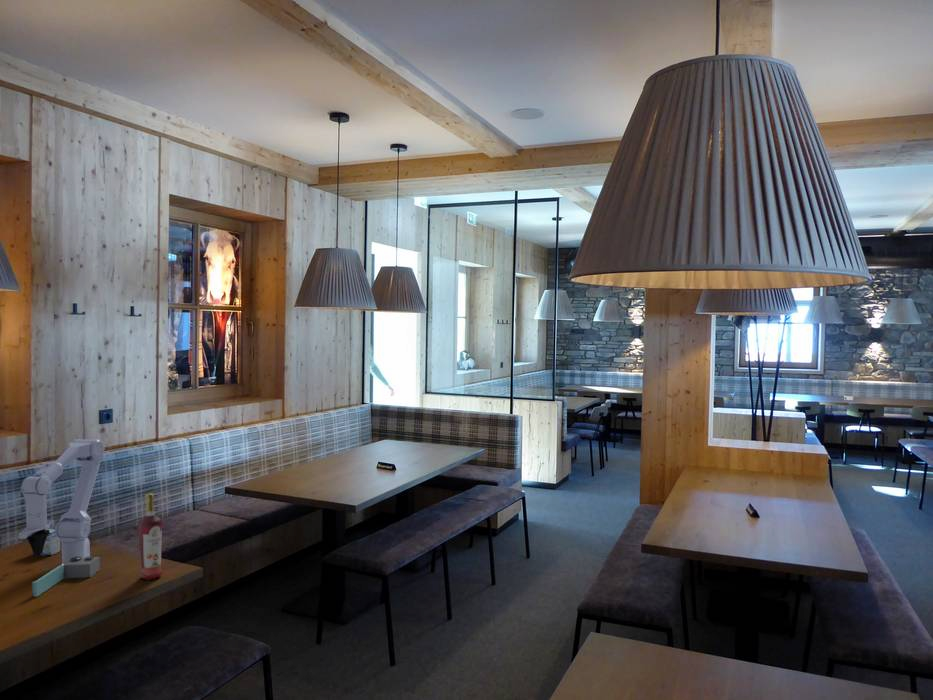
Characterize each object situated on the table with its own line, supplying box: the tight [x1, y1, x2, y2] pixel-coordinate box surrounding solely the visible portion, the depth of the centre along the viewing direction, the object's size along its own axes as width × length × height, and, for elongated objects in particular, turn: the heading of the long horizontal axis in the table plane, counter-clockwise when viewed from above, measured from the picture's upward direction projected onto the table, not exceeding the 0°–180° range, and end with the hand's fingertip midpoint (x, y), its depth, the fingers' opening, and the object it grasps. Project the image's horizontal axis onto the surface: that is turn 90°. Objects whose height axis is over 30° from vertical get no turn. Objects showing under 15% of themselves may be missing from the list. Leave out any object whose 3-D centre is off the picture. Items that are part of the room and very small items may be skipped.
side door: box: [31, 563, 66, 598], centre depth 218 cm, size 16×2×5 cm, turn 2°
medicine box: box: [32, 528, 61, 556], centre depth 251 cm, size 8×4×9 cm, turn 80°
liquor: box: [137, 493, 163, 580], centre depth 226 cm, size 7×7×28 cm
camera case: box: [64, 555, 101, 579], centre depth 230 cm, size 7×9×5 cm
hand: (37, 553), depth 223 cm, fingers closed
